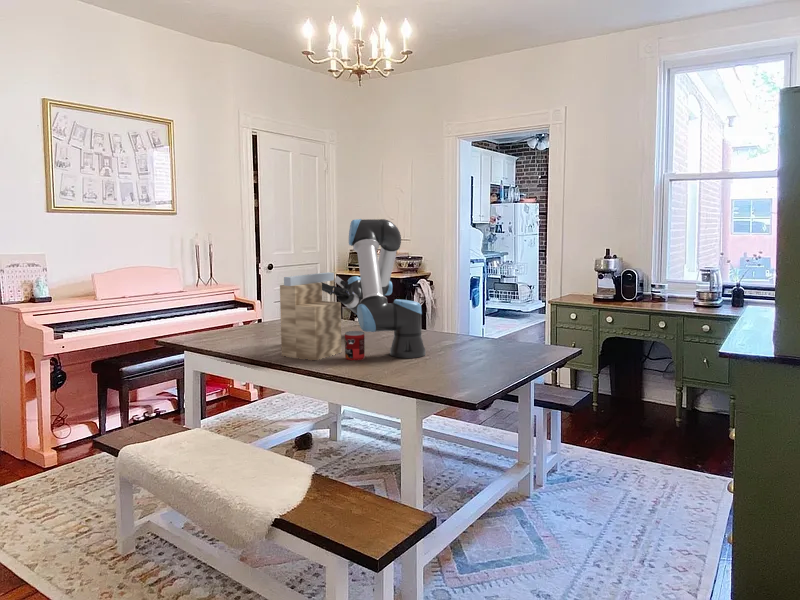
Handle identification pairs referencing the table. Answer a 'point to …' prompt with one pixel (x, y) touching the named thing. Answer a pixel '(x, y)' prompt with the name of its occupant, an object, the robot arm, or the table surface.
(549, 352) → the table surface
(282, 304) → the stand
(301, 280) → the rail
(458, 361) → the table surface
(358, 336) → the canned food
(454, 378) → the table surface
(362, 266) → the robot arm
